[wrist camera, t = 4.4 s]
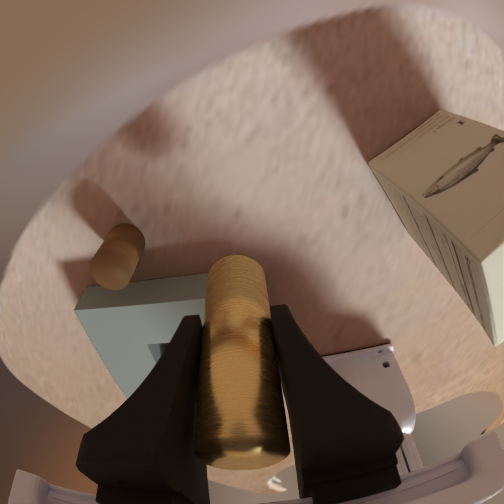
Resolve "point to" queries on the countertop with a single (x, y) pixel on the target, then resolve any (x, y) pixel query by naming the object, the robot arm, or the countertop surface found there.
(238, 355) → the long pin
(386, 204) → the countertop surface
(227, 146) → the countertop surface
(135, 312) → the hole plate
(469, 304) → the supplement box
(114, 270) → the short pin
